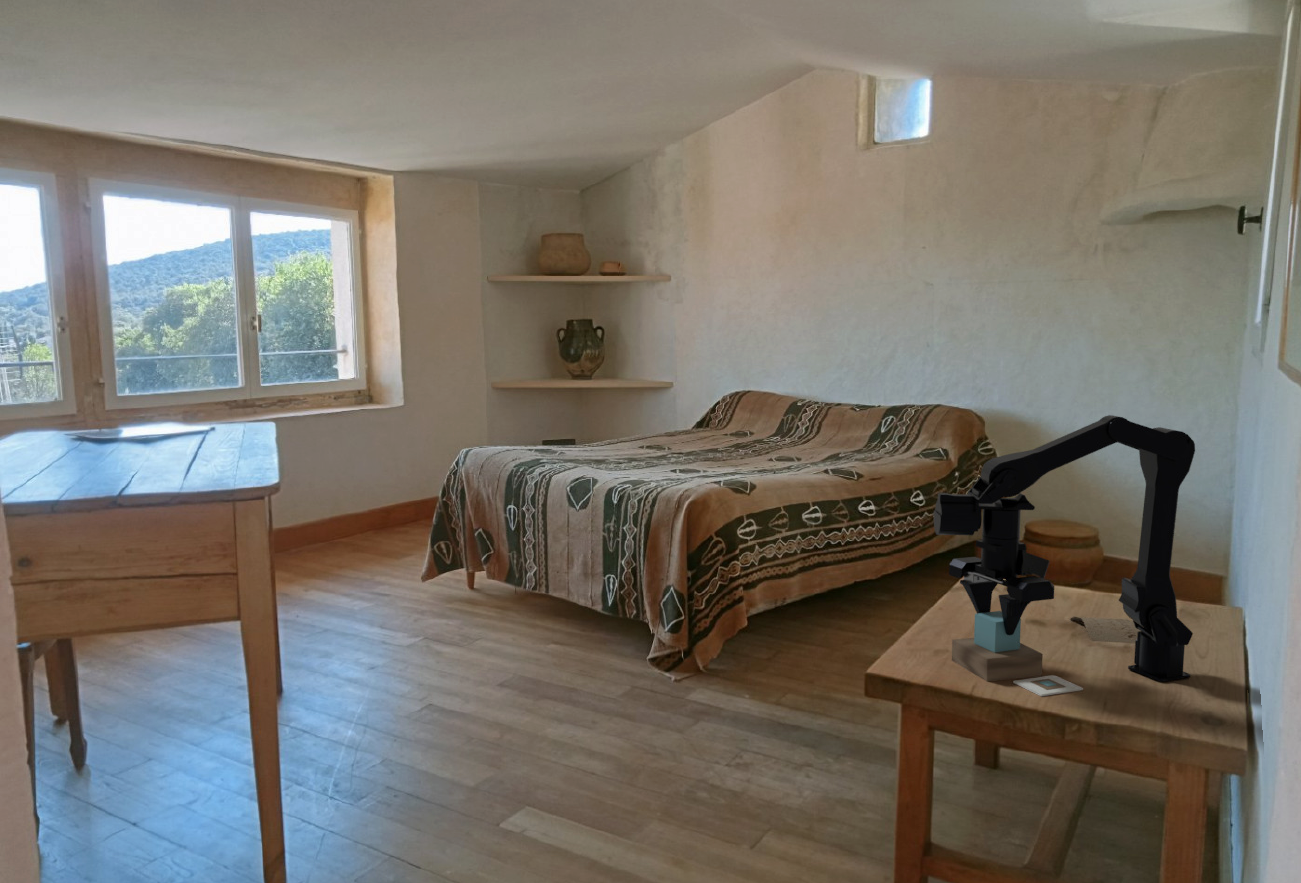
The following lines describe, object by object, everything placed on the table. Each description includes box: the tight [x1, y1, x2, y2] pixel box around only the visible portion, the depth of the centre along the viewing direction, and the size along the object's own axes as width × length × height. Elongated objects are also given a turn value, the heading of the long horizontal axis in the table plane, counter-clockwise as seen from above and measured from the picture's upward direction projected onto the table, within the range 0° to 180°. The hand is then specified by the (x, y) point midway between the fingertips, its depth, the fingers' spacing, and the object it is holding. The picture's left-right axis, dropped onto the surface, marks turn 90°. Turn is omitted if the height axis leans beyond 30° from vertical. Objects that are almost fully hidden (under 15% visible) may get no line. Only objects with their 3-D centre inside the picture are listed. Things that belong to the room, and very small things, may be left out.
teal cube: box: [973, 610, 1022, 652], centre depth 150 cm, size 5×5×5 cm
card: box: [1013, 674, 1084, 697], centre depth 142 cm, size 6×8×1 cm
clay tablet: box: [1069, 616, 1140, 644], centre depth 170 cm, size 14×10×3 cm
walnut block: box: [951, 637, 1043, 682], centre depth 151 cm, size 10×10×4 cm
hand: (997, 629), depth 150 cm, fingers open, 6 cm apart
